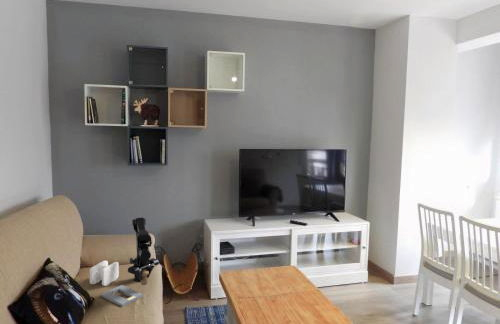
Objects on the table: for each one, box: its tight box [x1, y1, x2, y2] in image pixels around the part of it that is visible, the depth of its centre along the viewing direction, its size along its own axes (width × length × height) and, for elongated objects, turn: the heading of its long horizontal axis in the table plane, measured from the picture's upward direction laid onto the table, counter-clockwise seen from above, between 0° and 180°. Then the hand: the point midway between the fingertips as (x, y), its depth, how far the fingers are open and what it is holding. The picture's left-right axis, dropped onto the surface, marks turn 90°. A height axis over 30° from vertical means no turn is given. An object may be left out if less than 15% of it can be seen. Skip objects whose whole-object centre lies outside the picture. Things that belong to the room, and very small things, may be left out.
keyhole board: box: [100, 284, 144, 307], centre depth 202 cm, size 20×14×2 cm
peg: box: [140, 270, 149, 286], centre depth 207 cm, size 5×5×8 cm
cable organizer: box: [89, 260, 120, 287], centre depth 219 cm, size 15×11×12 cm
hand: (143, 279), depth 207 cm, fingers closed on peg, 5 cm apart
